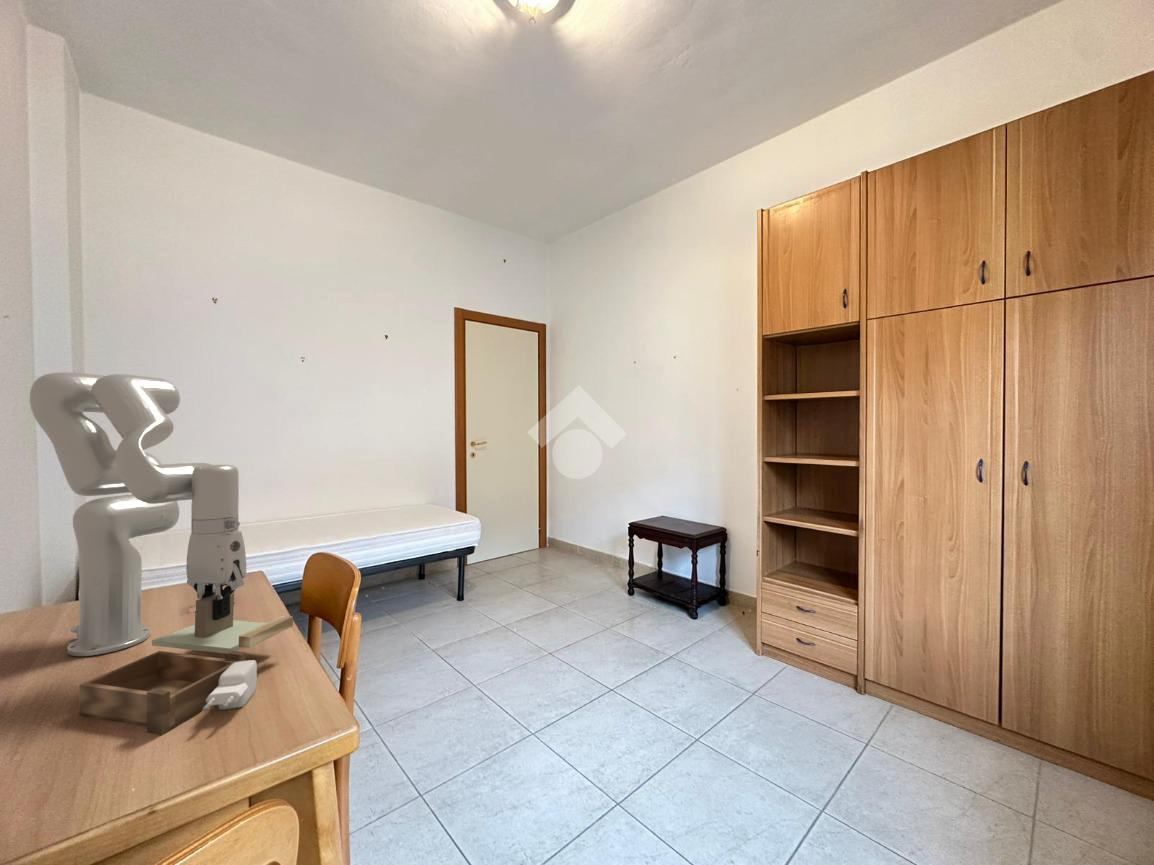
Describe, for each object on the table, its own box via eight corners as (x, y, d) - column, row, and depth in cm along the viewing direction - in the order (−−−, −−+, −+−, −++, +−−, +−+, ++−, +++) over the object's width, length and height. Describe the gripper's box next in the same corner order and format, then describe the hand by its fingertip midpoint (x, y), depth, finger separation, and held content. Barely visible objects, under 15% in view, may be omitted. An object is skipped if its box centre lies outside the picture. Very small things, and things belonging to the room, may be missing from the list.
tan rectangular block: (238, 646, 86) (238, 636, 86) (282, 625, 96) (282, 615, 96) (249, 648, 85) (249, 637, 85) (292, 626, 95) (293, 616, 95)
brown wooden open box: (70, 719, 74) (71, 681, 74) (164, 675, 88) (165, 642, 88) (162, 735, 70) (162, 694, 70) (245, 685, 84) (245, 652, 84)
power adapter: (231, 728, 72) (232, 690, 72) (194, 733, 71) (195, 694, 71) (261, 690, 83) (261, 657, 83) (229, 693, 82) (230, 660, 82)
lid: (151, 645, 89) (153, 603, 89) (211, 622, 101) (213, 585, 101) (230, 653, 86) (231, 610, 86) (283, 629, 97) (284, 590, 98)
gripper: (265, 523, 96) (264, 613, 96) (201, 521, 99) (200, 607, 99) (231, 531, 89) (231, 627, 89) (163, 528, 92) (163, 621, 92)
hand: (215, 616), depth 94 cm, fingers closed on lid, 2 cm apart
